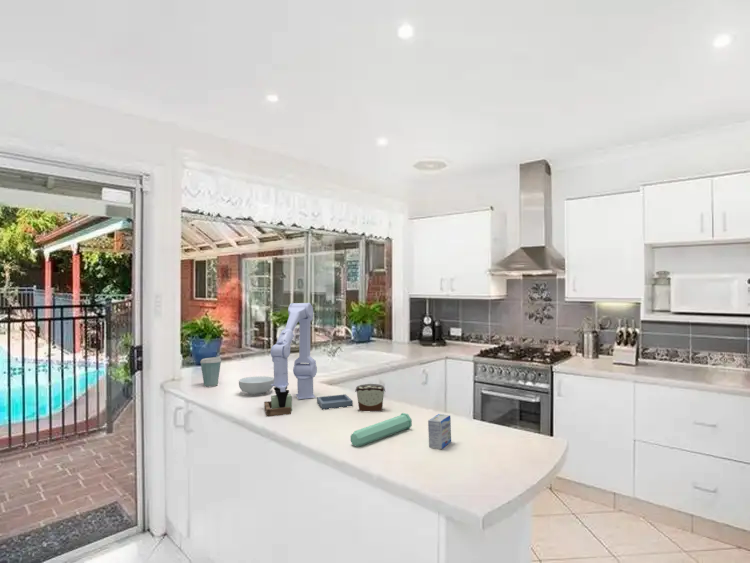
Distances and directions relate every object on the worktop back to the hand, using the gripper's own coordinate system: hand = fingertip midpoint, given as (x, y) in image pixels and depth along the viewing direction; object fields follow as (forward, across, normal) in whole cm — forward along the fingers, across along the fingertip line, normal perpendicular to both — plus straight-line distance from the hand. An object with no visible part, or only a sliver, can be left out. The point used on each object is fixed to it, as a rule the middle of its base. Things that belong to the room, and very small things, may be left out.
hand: (281, 405), depth 185 cm
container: (+2, +46, +28) cm, 54 cm away
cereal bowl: (+2, -36, -8) cm, 36 cm away
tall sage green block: (+2, 0, 0) cm, 2 cm away
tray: (+2, 0, +22) cm, 23 cm away
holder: (+2, 0, -2) cm, 3 cm away
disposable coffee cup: (+2, -64, -30) cm, 70 cm away
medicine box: (+2, +60, +43) cm, 74 cm away
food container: (+2, +14, +35) cm, 38 cm away
